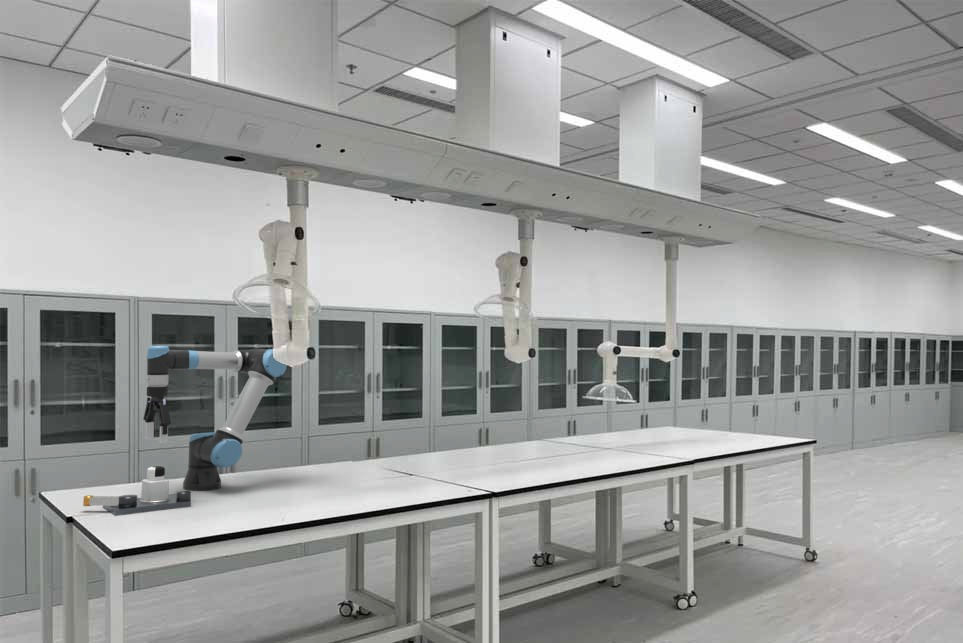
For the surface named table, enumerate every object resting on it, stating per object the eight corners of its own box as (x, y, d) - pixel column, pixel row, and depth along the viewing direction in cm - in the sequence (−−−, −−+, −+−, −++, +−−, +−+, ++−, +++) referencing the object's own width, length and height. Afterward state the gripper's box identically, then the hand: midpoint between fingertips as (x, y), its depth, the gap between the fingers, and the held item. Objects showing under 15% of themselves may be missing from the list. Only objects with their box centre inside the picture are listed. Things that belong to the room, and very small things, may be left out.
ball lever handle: (139, 503, 261) (139, 494, 261) (133, 507, 255) (133, 498, 255) (87, 503, 259) (87, 494, 259) (79, 507, 253) (80, 497, 253)
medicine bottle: (159, 496, 274) (161, 464, 274) (168, 499, 269) (170, 467, 269) (140, 498, 268) (142, 466, 269) (149, 502, 264) (151, 469, 264)
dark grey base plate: (175, 498, 280) (175, 493, 280) (190, 506, 269) (190, 500, 269) (102, 507, 263) (103, 501, 263) (115, 515, 251) (115, 509, 251)
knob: (192, 501, 269) (193, 492, 269) (179, 502, 265) (179, 493, 265) (185, 497, 274) (185, 489, 274) (171, 499, 271) (172, 490, 271)
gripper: (135, 384, 282) (134, 438, 282) (160, 388, 265) (159, 445, 264) (154, 383, 287) (153, 436, 287) (180, 387, 270) (179, 443, 270)
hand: (156, 441), depth 276 cm, fingers open, 13 cm apart
